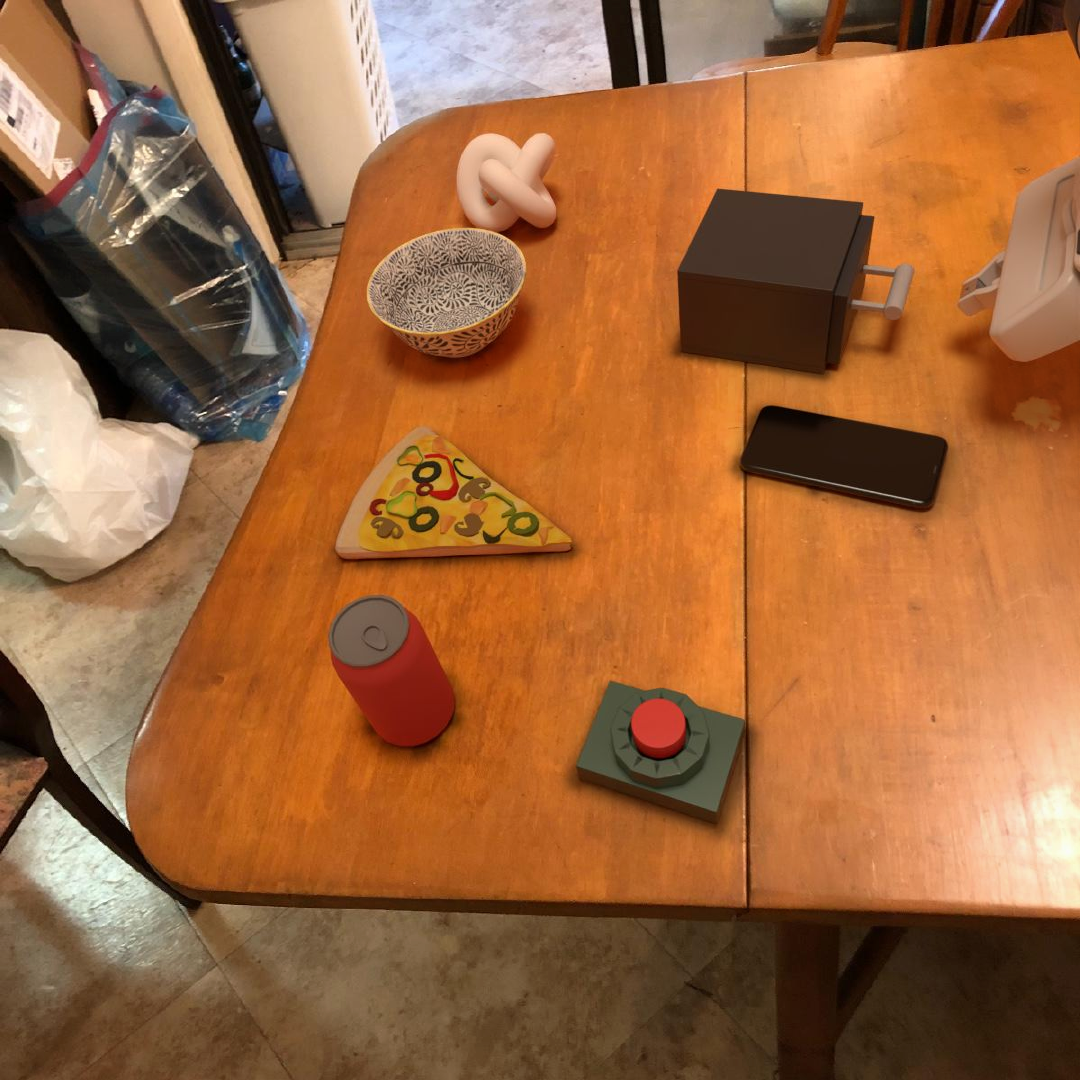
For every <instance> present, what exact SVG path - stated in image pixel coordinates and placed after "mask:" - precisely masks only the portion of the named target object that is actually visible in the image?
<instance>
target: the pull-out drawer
mask: <svg viewBox="0 0 1080 1080" xmlns="http://www.w3.org/2000/svg"><path fill="white" fill-rule="evenodd" d="M874 224H875V216H874V215H868V214H867V215H866V214H862V215H861V217H860V220H859V223H858V226H857V228H856V231H855V234H854V237H853V240H852V243H851V246H850V249H849V252H848V255H847V257H846V260H845V263H844V266H843V269H842V272H841V275H840V278H839V281H838V284H837V286H836V289H835V292H834V296H833V304H832V313H831V322H830V330H829V339H828V347H827V356H826V363H827V364H833V365H840V363H841V360H842V357H843V356H842V355H843V354H844V349H845V347H846V344H847V341H848V338H849V335H850V332H851V328H852V326H853V323H854V319H855V316H856V313H857V310H859V311H865V312H872V313H873V312H874V313H881V314H883V316H884V317H885V318H886V319H887V320H888V321H889V320H890V321H898V320H899V319H900V318H902V316H903V313H904V311H905V306H906V303H907V300H908V295H909V292H910V289H911V285H912V282H913V278H914V274H915V267H913V265H912V264H909V263H900V264H899V265H897V267H896V268H895V267H890V266H889V267H888V266H879V265H871V264H868V263H869V258H870V250H871V243H872V238H873V237H872V236H873V231H874ZM867 275H873V276H882V277H888V278H892V281H891V283H890V284H891V285H890V288H889V291H888V294H887V297H886V301H885V303H882V302H874V301H866V300H861V298H862V294H863V291H864V288H865V284H866V277H867Z"/></svg>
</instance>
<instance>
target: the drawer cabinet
mask: <svg viewBox="0 0 1080 1080" xmlns="http://www.w3.org/2000/svg"><path fill="white" fill-rule="evenodd" d="M863 209H864V202H863V201H853V200H845V199H843V200H842V199H833V198H832V199H831V198H822V197H811V196H802V195H801V196H800V195H791V194H781V193H780V194H779V193H771V192H759V191H747V190H739V189H738V190H737V189H727V188H717V189H716V190H715V192H714V195H713V197H712V199H711V201H710V203H709V205H708V206H707V208H706V210H705V213H704V215H703V217H702V219H701V220H700V223H699V225H698V227H697V229H696V231H695V234H694V235H693V237H692V240H691V241H690V243H689V246H688V247H687V250H686V252H685V254H684V256H683V258H682V260H681V262H680V264H679V265H678V269H677V271H676V273H677V275H676V276H677V297H678V299H677V300H678V317H679V319H678V321H679V340H680V341H679V342H680V352H682V353H688V354H694V355H701V356H707V357H713V358H720V359H726V360H733V361H739V362H745V363H750V364H757V365H763V366H770V367H776V368H782V369H783V368H784V369H789V370H796V371H801V372H808V373H813V374H814V373H815V374H821V375H823V374H824V373H825V370H826V367H827V365H828V363H826V356H827V347H828V339H829V330H830V322H831V313H832V304H833V296H834V292H835V289H836V286H837V284H838V281H839V278H840V275H841V272H842V269H843V266H844V263H845V260H846V257H847V255H848V252H849V249H850V246H851V243H852V240H853V237H854V234H855V231H856V228H857V226H858V223H859V220H860V217H861V215H863Z"/></svg>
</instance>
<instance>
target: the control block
mask: <svg viewBox="0 0 1080 1080" xmlns="http://www.w3.org/2000/svg"><path fill="white" fill-rule="evenodd" d="M651 699H665V700H668V701H671V702H673V703H674V704H676V705H677V706H678V707H679V708H680V709H681V711H682V712H683V714H684V717H685V723H686V740H685V743H684V745H683V746H682V748H681V749H680V750H679V751H678V752H677V753H676V754H674V755H672V756H670V757H667V758H652V757H649V756H647V755H645V754H644V753H642V752H641V751H640V750H639V749H638V748H637V746H636V744H635V742H634V739H633V733H632V728H631V719H632V716H633V713H634V712H635V710H636V709H637V708H638V707H639V706H640V705H641V704H642V703H644V702H646V701H648V700H651ZM587 734H588V735H587V737H586V739H585V741H584V744H583V747H582V749H581V752H580V754H579V757H578V760H577V761H576V764H575V768H576V772H577V774H578V778H579V779H581V780H584V781H587V782H589V783H591V784H595V785H599V786H600V787H604V788H607V789H610V790H613V791H616V792H620V793H622V794H626V795H628V796H631V797H635V798H638V799H640V800H643V801H646V802H649V803H653V804H655V805H658V806H662V807H664V808H667V809H671V810H672V811H673V810H674V811H676V812H679V813H682V814H685V815H688V816H691V817H694V818H697V819H700V820H703V821H706V822H709V823H713V824H716V825H717V824H718V822H719V819H720V817H721V816H720V815H721V812H722V810H723V805H724V804H725V803H724V802H725V800H726V796H727V793H728V790H729V786H730V783H731V779H732V776H733V774H734V770H735V767H736V764H737V760H738V757H739V754H740V750H741V747H742V744H743V741H744V738H745V734H746V719H744V718H741V717H737V716H734V715H731V714H726V713H725V712H720V711H716V710H713V709H710V708H706V707H703V706H699V705H698V704H697V703H696V702H695V701H694V700H693V699H692V698H691V697H690V696H688V695H687V693H683V692H679V691H675V690H672V689H670V688H665V687H657V688H652V689H646V690H645V689H641V688H637V687H635V686H631V685H627V684H624V683H620V682H617V681H614V680H609V682H608V685H607V687H606V690H605V692H604V695H603V697H602V700H601V702H600V705H599V707H598V709H597V712H596V714H595V717H594V719H593V722H592V724H591V727H590V729H589V731H588V733H587Z"/></svg>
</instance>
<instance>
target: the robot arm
mask: <svg viewBox="0 0 1080 1080" xmlns="http://www.w3.org/2000/svg"><path fill="white" fill-rule="evenodd" d="M1063 22H1064V27H1065V28H1066V31H1067V33H1068V35H1069V38H1070V40H1071V42H1072V45H1073V47H1074V50H1075V53H1076V55H1077V57H1078V60H1080V0H1065V2H1064V6H1063ZM1013 208H1014V209H1013V213H1012V217H1011V223H1010V228H1009V232H1008V238H1007V243H1006V247H1005V249H1004V250H1002V251H999V253H997V254H996V255H995V256H994V257H993V258H992V259H991V260H990V261H989V262H988V263H987V264H986V265H985V266H984V267H983V268H982V269H981V270H980V271H978V273H976V274H975V275H972V276H971V277H969V278H968V279H966V280H964V281H963V282H962V285H961V289H960V293H959V298H958V303H957V308H958V309H959V310H960V311H961V312H962V313H963V314H964V315H965V316H967V317H973V316H975V315H976V314H979V313H980V312H983V311H984V310H992V309H993V312H992V316H991V322H990V326H989V332H988V334H989V338H990V339H991V341H992V342H993V343H994V344H995V345H996V346H997V347H998V348H999V349H1000V351H1001V352H1002V353H1003V354H1004V355H1006V357H1007V358H1008V359H1010V360H1011V361H1016V362H1021V363H1022V362H1023V363H1024V362H1031V361H1034V360H1037V359H1040V358H1042V357H1044V356H1047V355H1050V354H1052V353H1054V352H1056V351H1059V350H1062V349H1064V348H1066V347H1068V346H1071V345H1073V344H1075V343H1077V342H1080V155H1079V156H1077V157H1075V158H1073V159H1071V160H1068V161H1067V162H1065V163H1063V164H1061V165H1059V166H1057V167H1055V168H1053V169H1051V170H1049V171H1048V172H1046V173H1044V174H1041V175H1040V176H1038V177H1037V178H1035V179H1033V180H1031V181H1030V182H1028V184H1026V186H1024V187H1023V188H1022V189H1021V190H1020V191H1019V192H1018V193H1017V195H1016V198H1015V204H1014V207H1013Z"/></svg>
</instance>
